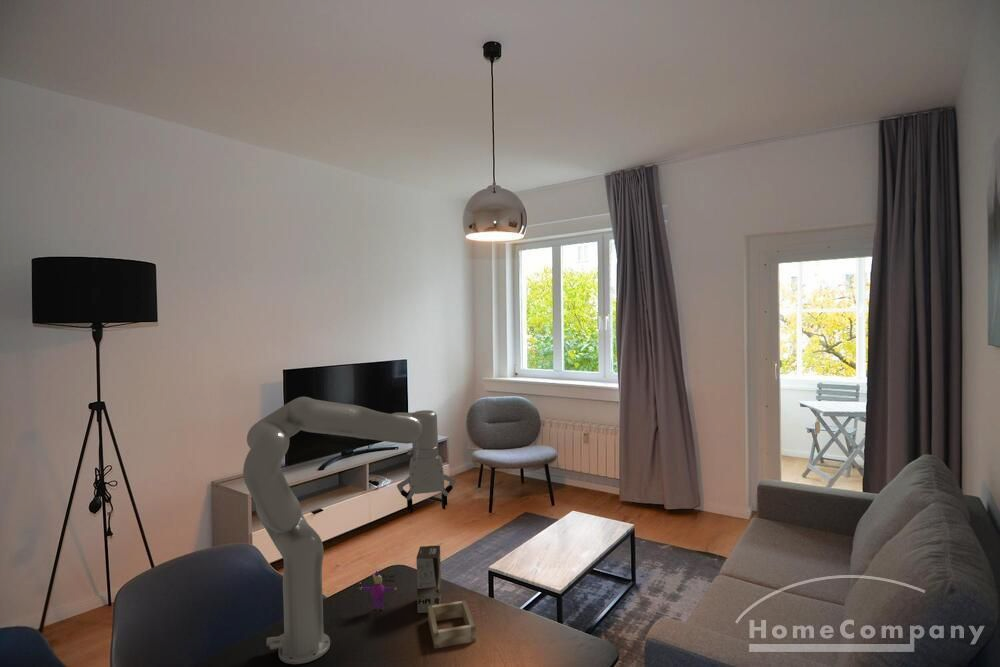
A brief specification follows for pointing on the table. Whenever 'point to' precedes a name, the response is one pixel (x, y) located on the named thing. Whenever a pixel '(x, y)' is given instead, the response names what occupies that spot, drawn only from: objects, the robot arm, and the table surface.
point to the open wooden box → (456, 633)
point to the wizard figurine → (378, 588)
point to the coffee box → (428, 577)
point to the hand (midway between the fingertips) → (427, 509)
